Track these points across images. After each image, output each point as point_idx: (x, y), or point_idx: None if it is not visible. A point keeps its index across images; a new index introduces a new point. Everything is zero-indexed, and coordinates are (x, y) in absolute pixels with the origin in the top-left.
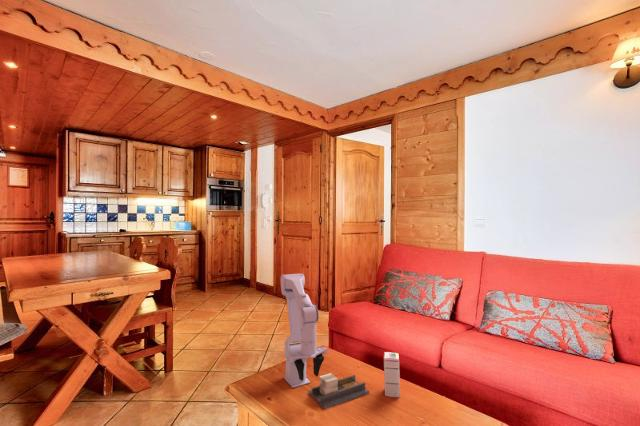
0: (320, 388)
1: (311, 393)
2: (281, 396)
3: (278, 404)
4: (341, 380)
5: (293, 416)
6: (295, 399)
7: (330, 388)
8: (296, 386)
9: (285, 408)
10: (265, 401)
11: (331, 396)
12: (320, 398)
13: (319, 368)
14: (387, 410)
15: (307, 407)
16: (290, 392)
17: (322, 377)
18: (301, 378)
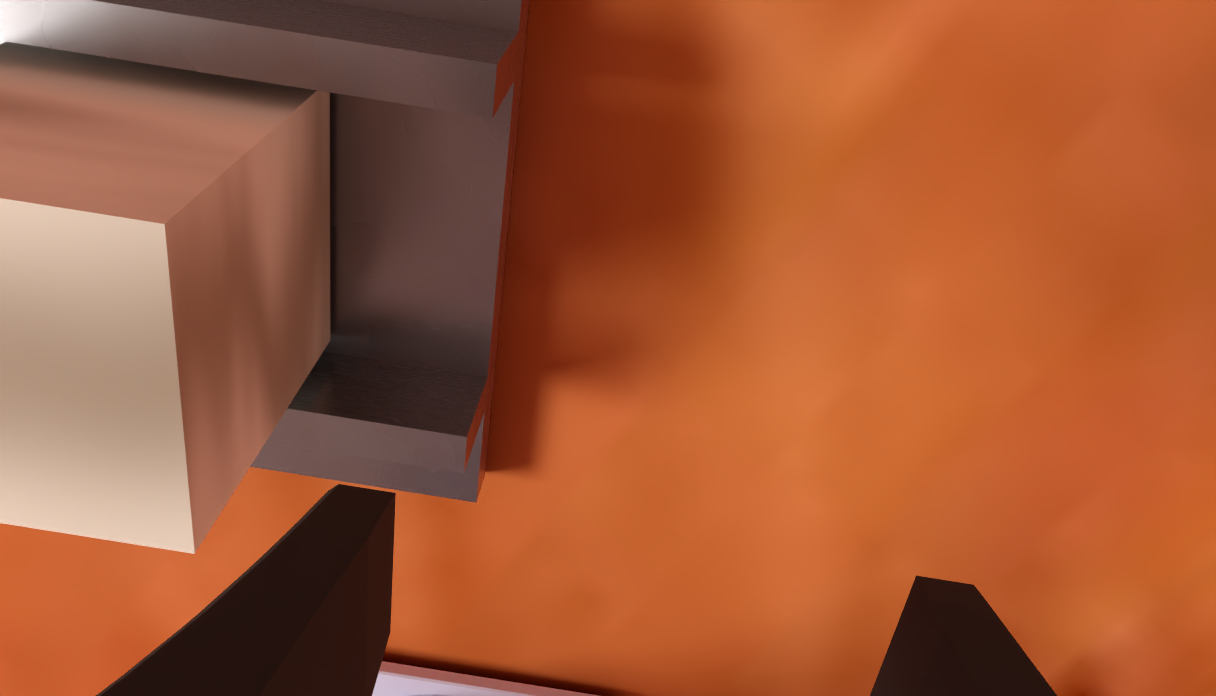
0: (300, 357)
1: (486, 404)
2: None
3: (1092, 525)
4: None
5: (1182, 95)
6: (781, 467)
7: (128, 121)
8: (559, 692)
9: (1094, 378)
10: (1173, 686)
11: (213, 2)
12: (500, 76)
13: (170, 658)
14: None
15: (772, 156)
16: (719, 642)
17: (152, 470)
18: (1019, 647)
